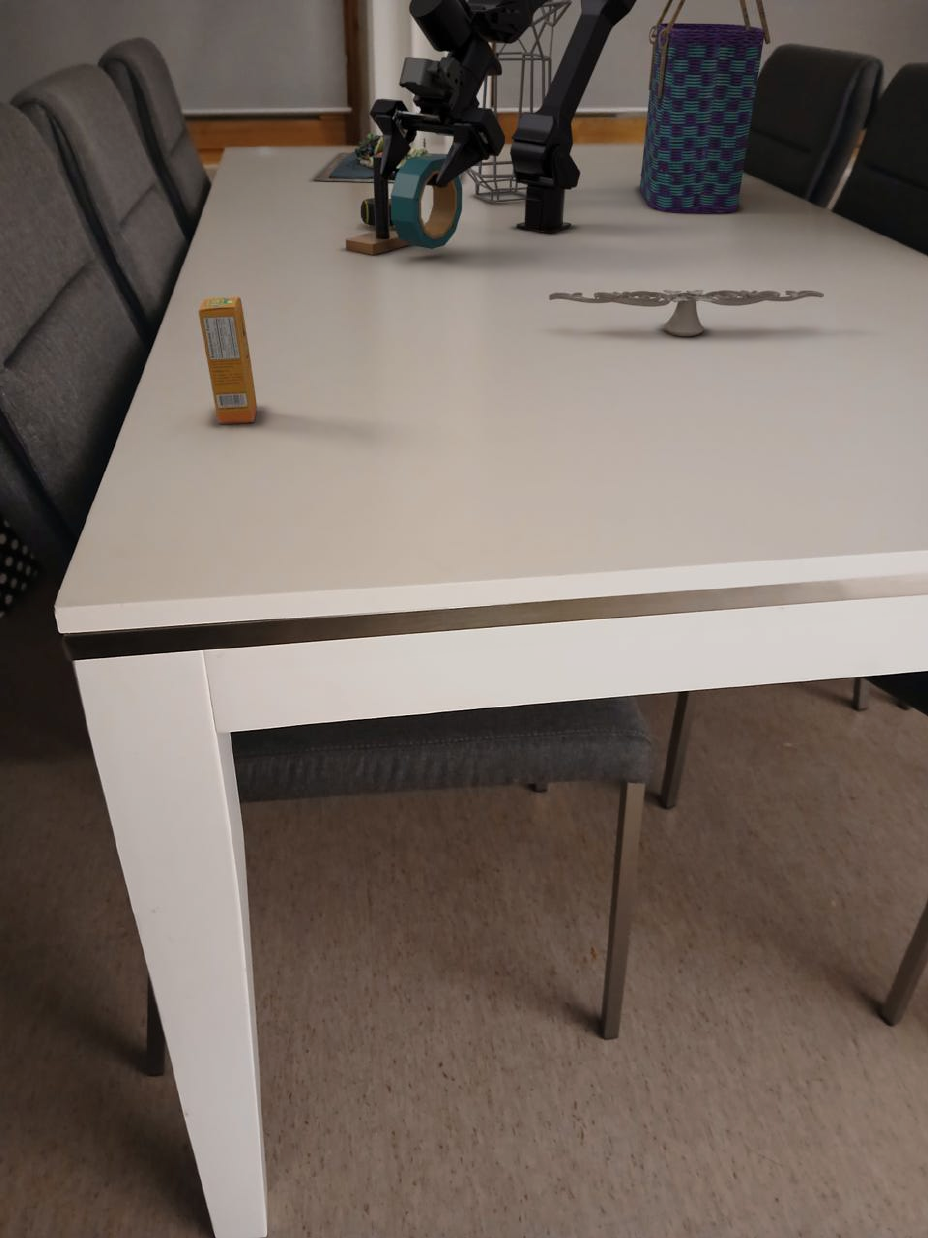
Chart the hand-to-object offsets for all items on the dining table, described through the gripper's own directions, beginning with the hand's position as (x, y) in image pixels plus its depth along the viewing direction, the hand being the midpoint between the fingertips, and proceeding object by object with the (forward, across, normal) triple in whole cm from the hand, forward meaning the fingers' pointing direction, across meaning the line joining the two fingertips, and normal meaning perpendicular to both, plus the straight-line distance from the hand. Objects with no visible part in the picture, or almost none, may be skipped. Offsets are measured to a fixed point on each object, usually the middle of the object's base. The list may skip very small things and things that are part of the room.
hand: (409, 181), depth 126 cm
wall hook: (+12, +43, +3) cm, 45 cm away
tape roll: (+3, 0, +9) cm, 9 cm away
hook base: (+4, -9, +10) cm, 14 cm away
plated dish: (-35, -50, +49) cm, 79 cm away
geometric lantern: (-25, -15, +40) cm, 49 cm away
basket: (-40, +10, +54) cm, 68 cm away
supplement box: (+45, +22, -30) cm, 58 cm away
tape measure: (-4, -17, +18) cm, 25 cm away
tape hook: (+4, -3, +10) cm, 11 cm away
